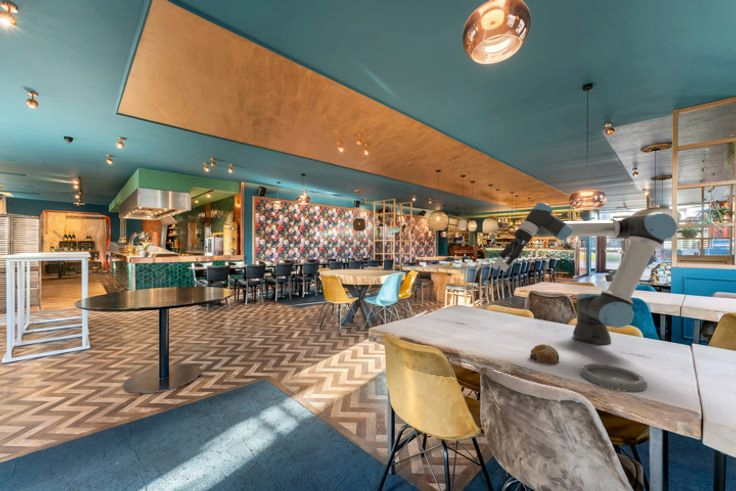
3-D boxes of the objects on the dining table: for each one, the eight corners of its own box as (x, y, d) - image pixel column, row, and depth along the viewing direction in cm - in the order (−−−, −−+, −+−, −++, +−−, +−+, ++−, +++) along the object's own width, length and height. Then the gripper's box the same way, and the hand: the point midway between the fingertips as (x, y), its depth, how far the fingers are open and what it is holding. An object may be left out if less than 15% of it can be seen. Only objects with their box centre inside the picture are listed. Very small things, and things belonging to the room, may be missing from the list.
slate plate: (600, 366, 117) (600, 360, 117) (659, 385, 100) (659, 379, 100) (568, 373, 110) (568, 367, 110) (625, 395, 93) (625, 388, 93)
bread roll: (553, 374, 118) (564, 357, 116) (527, 359, 123) (536, 342, 121) (554, 366, 126) (563, 350, 124) (528, 351, 131) (537, 336, 129)
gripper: (509, 229, 154) (484, 263, 155) (528, 225, 129) (499, 266, 131) (522, 238, 153) (497, 271, 154) (544, 236, 128) (513, 276, 130)
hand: (498, 269), depth 142 cm, fingers open, 13 cm apart
